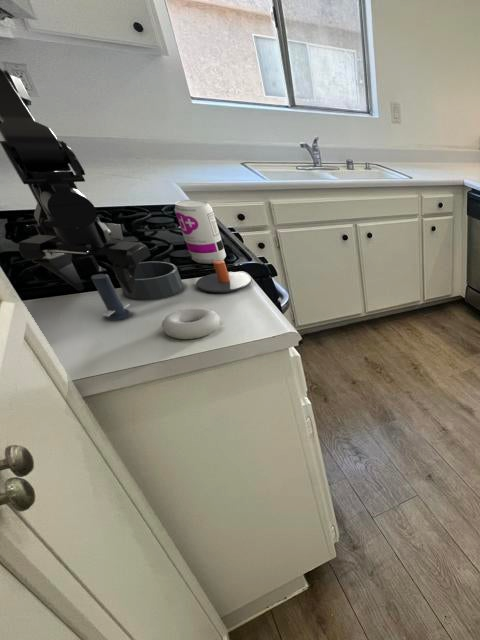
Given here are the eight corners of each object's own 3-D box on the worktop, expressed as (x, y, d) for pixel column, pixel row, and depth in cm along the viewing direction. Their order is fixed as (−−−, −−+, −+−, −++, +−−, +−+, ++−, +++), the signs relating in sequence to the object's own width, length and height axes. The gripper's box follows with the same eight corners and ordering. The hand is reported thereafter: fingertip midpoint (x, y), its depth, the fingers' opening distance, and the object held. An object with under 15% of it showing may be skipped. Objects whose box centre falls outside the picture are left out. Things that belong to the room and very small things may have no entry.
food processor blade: (119, 324, 85) (98, 283, 80) (98, 323, 85) (76, 282, 80) (139, 309, 91) (121, 270, 86) (119, 308, 90) (100, 269, 85)
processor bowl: (114, 290, 96) (104, 269, 93) (166, 276, 105) (159, 257, 102) (141, 304, 93) (132, 284, 90) (193, 289, 101) (186, 270, 98)
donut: (153, 336, 84) (196, 346, 83) (145, 321, 82) (190, 331, 81) (193, 316, 92) (233, 324, 91) (187, 301, 90) (228, 309, 89)
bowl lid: (187, 284, 102) (178, 261, 99) (233, 272, 111) (226, 249, 108) (217, 299, 99) (209, 274, 95) (262, 284, 107) (256, 262, 104)
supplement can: (208, 266, 112) (189, 209, 103) (184, 260, 114) (164, 202, 105) (233, 258, 118) (218, 203, 109) (211, 251, 120) (193, 197, 111)
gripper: (150, 206, 83) (178, 279, 92) (43, 196, 80) (83, 272, 89) (114, 221, 74) (148, 300, 84) (-8, 211, 71) (42, 294, 81)
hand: (107, 291), depth 84 cm, fingers open, 9 cm apart
